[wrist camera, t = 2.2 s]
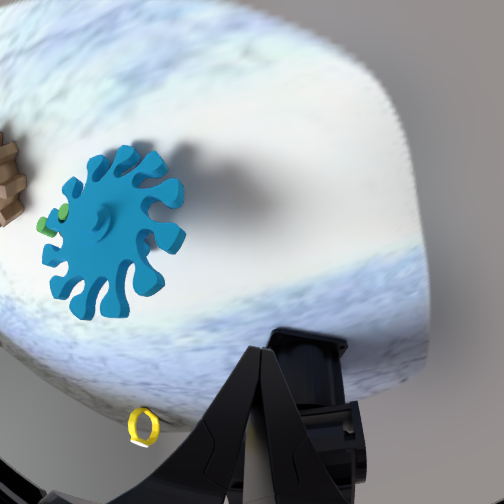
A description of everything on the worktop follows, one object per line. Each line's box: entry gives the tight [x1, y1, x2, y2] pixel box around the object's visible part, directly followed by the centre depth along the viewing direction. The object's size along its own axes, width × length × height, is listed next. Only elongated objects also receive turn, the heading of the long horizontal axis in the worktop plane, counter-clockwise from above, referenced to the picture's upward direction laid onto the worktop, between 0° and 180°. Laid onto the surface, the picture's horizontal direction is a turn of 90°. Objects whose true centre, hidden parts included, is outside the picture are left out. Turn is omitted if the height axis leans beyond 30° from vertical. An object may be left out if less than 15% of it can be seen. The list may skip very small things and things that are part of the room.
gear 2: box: [37, 145, 186, 320], centre depth 15 cm, size 11×6×10 cm
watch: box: [128, 408, 160, 447], centre depth 31 cm, size 6×3×6 cm, turn 19°
